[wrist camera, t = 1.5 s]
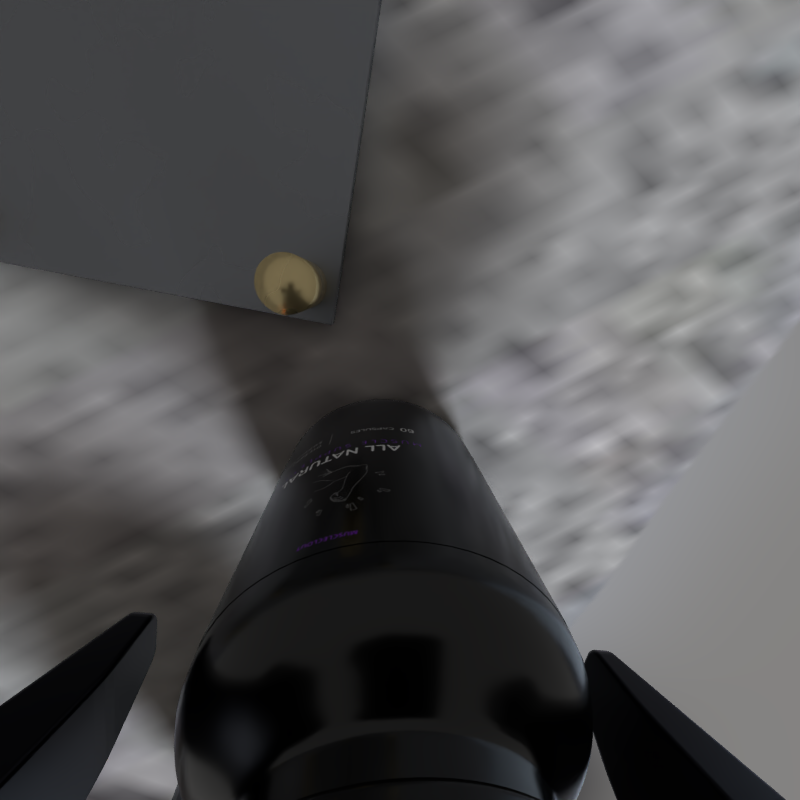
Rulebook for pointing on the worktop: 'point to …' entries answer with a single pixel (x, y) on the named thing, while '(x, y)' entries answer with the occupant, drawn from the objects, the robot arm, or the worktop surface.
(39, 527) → the worktop surface
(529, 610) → the supplement bottle
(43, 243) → the chassis plate
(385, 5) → the worktop surface
